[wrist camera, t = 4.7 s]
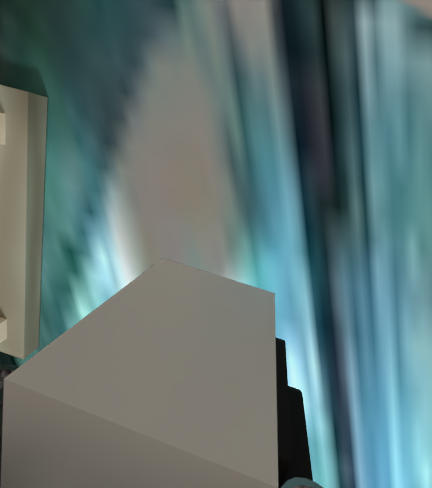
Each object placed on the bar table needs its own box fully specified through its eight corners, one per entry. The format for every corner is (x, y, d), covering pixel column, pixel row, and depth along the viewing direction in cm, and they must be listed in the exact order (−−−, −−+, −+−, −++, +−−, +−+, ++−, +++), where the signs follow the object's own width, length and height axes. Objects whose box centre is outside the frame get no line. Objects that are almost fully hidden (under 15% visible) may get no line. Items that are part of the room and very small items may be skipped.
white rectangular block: (274, 292, 9) (278, 488, 3) (228, 428, 11) (180, 709, 5) (162, 258, 10) (4, 378, 4) (135, 392, 11) (-4, 613, 6)
